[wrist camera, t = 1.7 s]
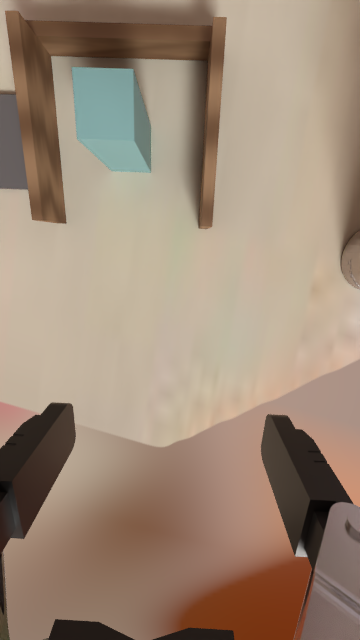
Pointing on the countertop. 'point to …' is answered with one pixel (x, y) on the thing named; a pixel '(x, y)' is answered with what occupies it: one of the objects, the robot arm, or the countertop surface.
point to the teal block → (112, 118)
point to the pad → (11, 146)
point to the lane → (111, 42)
